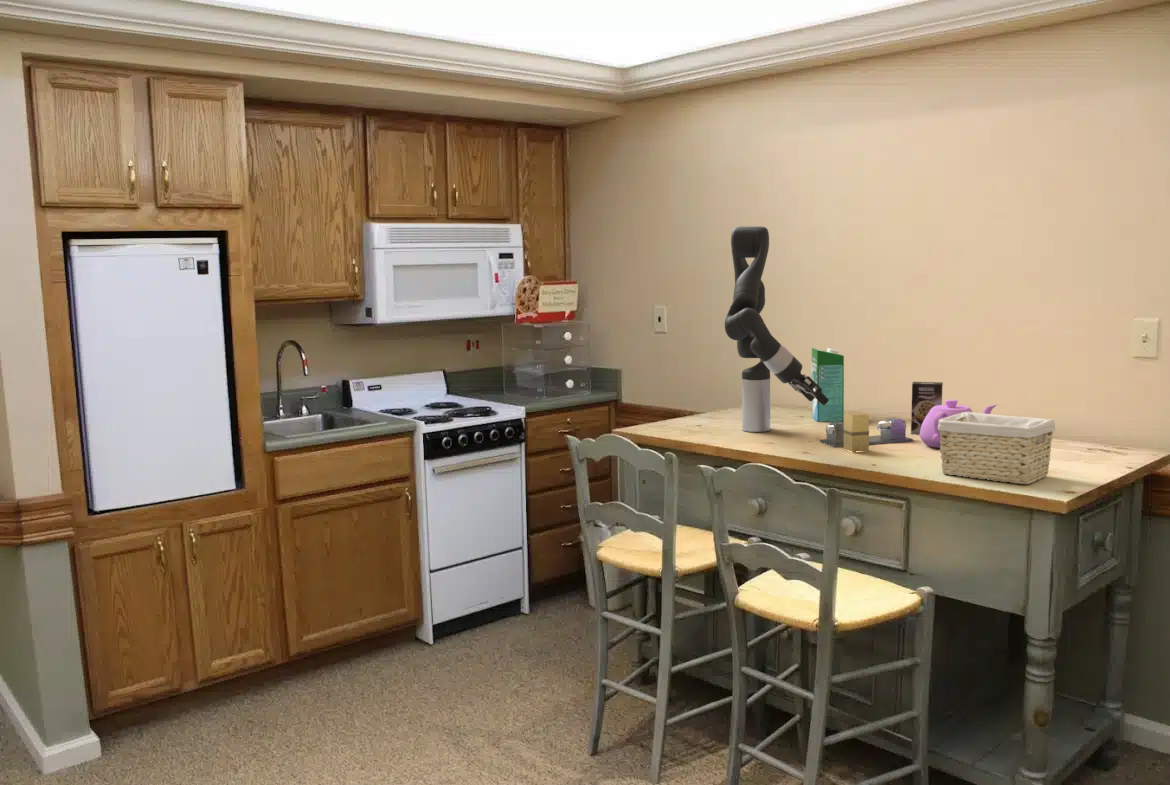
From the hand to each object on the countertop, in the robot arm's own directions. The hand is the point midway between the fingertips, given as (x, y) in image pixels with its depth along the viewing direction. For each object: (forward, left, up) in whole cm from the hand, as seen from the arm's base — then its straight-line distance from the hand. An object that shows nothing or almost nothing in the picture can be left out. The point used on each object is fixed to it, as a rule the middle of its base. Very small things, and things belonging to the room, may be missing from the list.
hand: (819, 400), depth 274 cm
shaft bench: (-16, +17, -15) cm, 28 cm away
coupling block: (-3, +11, -15) cm, 19 cm away
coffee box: (-29, +39, -16) cm, 51 cm away
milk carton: (-59, +14, -16) cm, 63 cm away
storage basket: (+32, +38, -16) cm, 52 cm away
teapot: (-5, +41, -16) cm, 44 cm away
